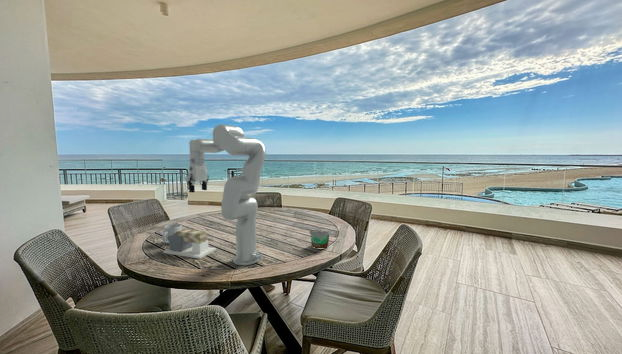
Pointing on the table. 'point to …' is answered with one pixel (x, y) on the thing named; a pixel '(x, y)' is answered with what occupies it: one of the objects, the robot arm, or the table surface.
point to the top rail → (192, 236)
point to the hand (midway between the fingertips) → (198, 191)
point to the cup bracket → (187, 247)
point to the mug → (170, 231)
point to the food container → (319, 238)
